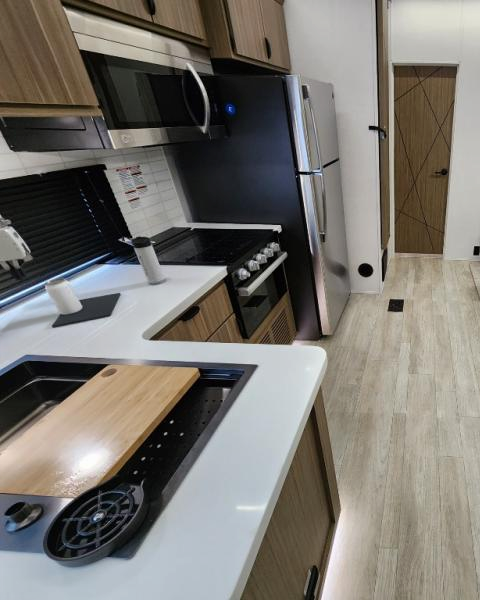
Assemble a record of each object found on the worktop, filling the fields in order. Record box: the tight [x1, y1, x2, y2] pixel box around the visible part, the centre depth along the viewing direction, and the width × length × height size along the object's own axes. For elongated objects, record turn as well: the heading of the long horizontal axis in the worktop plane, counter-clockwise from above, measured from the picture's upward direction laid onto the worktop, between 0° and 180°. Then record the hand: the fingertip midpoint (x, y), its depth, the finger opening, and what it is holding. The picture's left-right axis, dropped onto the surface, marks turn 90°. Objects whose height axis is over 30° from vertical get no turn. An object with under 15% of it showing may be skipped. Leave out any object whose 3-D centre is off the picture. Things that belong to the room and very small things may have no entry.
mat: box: [51, 292, 122, 329], centre depth 124 cm, size 16×20×1 cm
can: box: [44, 277, 82, 315], centre depth 119 cm, size 6×6×12 cm
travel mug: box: [130, 235, 166, 286], centre depth 141 cm, size 6×7×20 cm
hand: (21, 278), depth 112 cm, fingers closed
